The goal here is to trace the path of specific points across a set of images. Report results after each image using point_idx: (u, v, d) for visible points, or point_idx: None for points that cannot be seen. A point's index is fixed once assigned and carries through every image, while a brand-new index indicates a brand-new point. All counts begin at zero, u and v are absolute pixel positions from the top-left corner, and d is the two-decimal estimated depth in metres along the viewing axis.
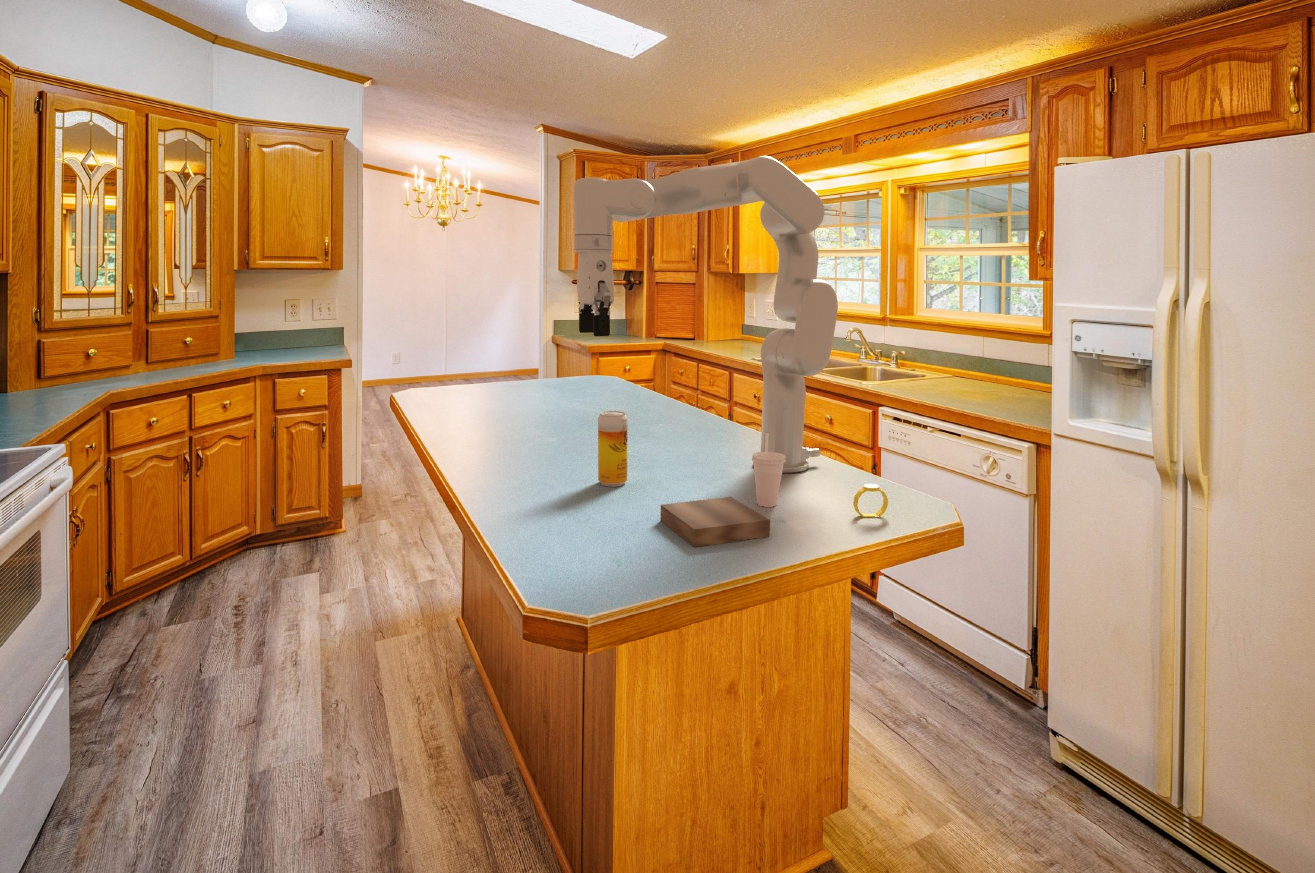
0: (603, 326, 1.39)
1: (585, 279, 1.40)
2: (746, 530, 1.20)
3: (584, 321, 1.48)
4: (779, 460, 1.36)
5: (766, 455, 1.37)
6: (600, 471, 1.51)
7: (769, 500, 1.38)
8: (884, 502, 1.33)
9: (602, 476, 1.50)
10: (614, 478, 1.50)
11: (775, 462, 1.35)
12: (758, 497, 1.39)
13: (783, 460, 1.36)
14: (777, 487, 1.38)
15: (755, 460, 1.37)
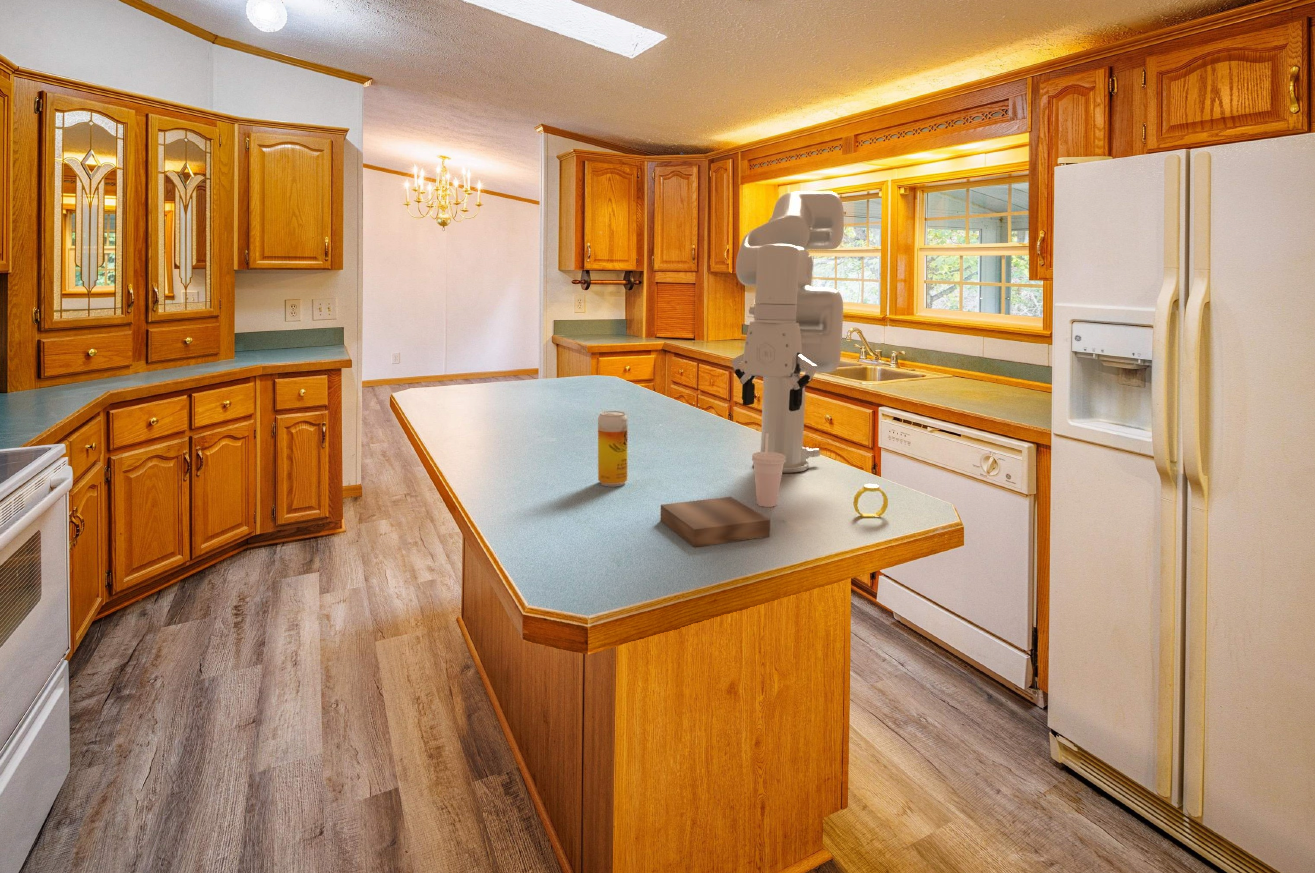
0: None
1: None
2: (746, 530, 1.20)
3: None
4: (779, 460, 1.36)
5: (766, 455, 1.37)
6: (600, 471, 1.51)
7: (769, 500, 1.38)
8: (884, 502, 1.33)
9: (602, 476, 1.50)
10: (614, 478, 1.50)
11: (775, 462, 1.35)
12: (758, 497, 1.39)
13: (783, 460, 1.36)
14: (777, 487, 1.38)
15: (755, 460, 1.37)
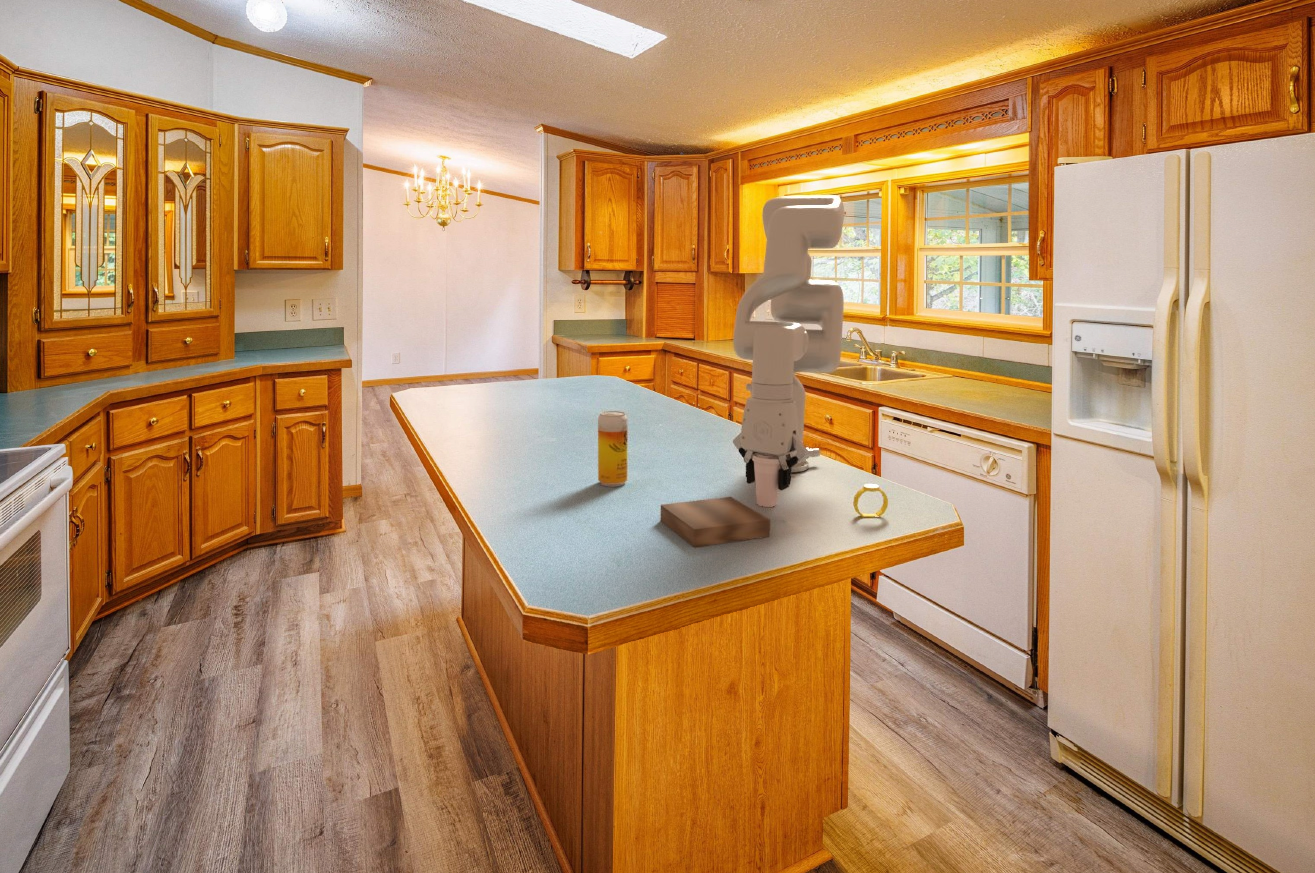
0: None
1: None
2: (746, 530, 1.20)
3: None
4: (779, 460, 1.35)
5: (766, 455, 1.37)
6: (600, 471, 1.51)
7: (769, 500, 1.38)
8: (884, 502, 1.33)
9: (602, 476, 1.50)
10: (614, 478, 1.50)
11: (775, 462, 1.35)
12: (758, 497, 1.39)
13: None
14: (777, 487, 1.38)
15: (755, 460, 1.37)
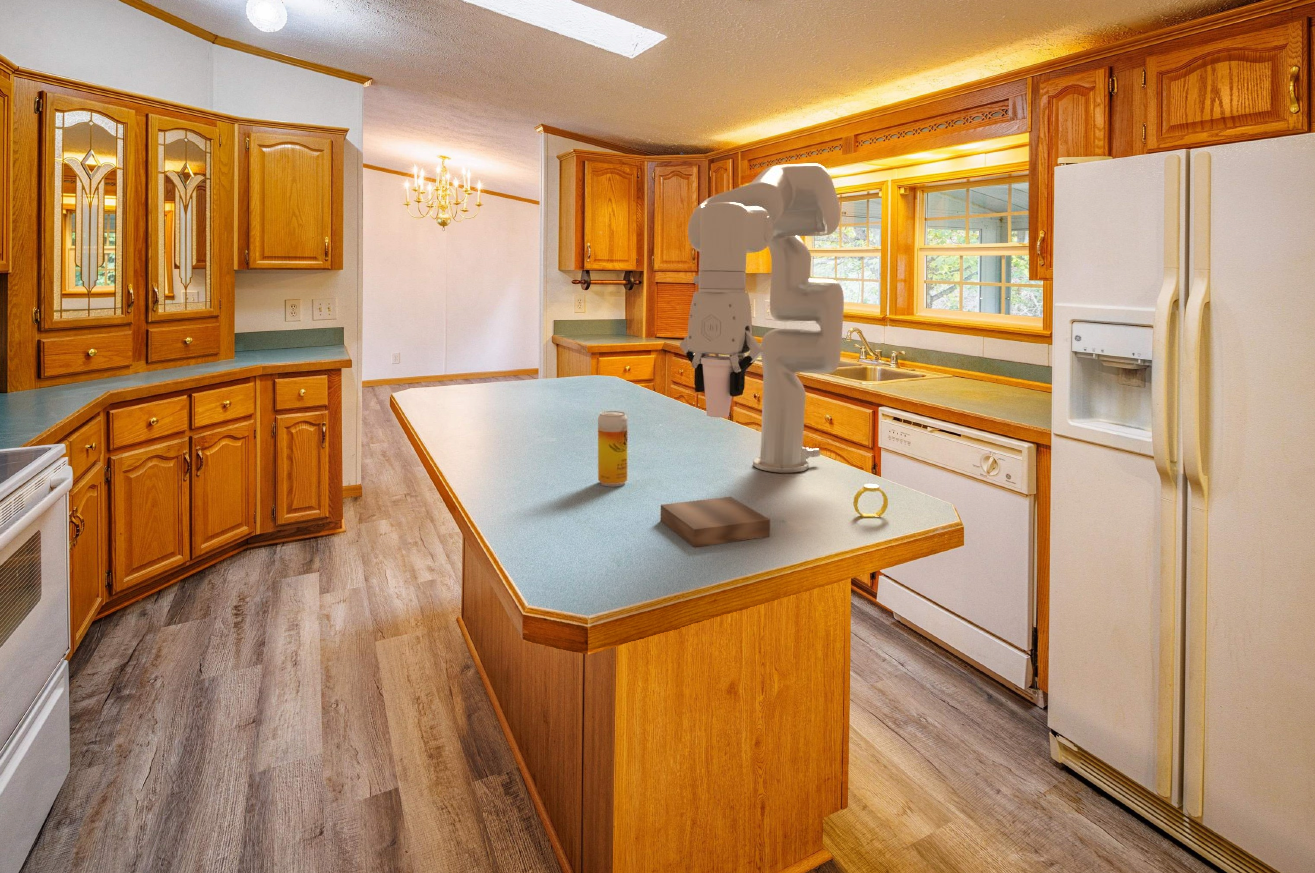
0: None
1: None
2: (746, 530, 1.20)
3: None
4: None
5: (717, 357, 1.19)
6: (600, 471, 1.51)
7: (720, 410, 1.20)
8: (884, 502, 1.33)
9: (602, 476, 1.50)
10: (614, 478, 1.50)
11: (726, 363, 1.17)
12: (708, 406, 1.21)
13: None
14: (729, 394, 1.20)
15: (704, 362, 1.19)
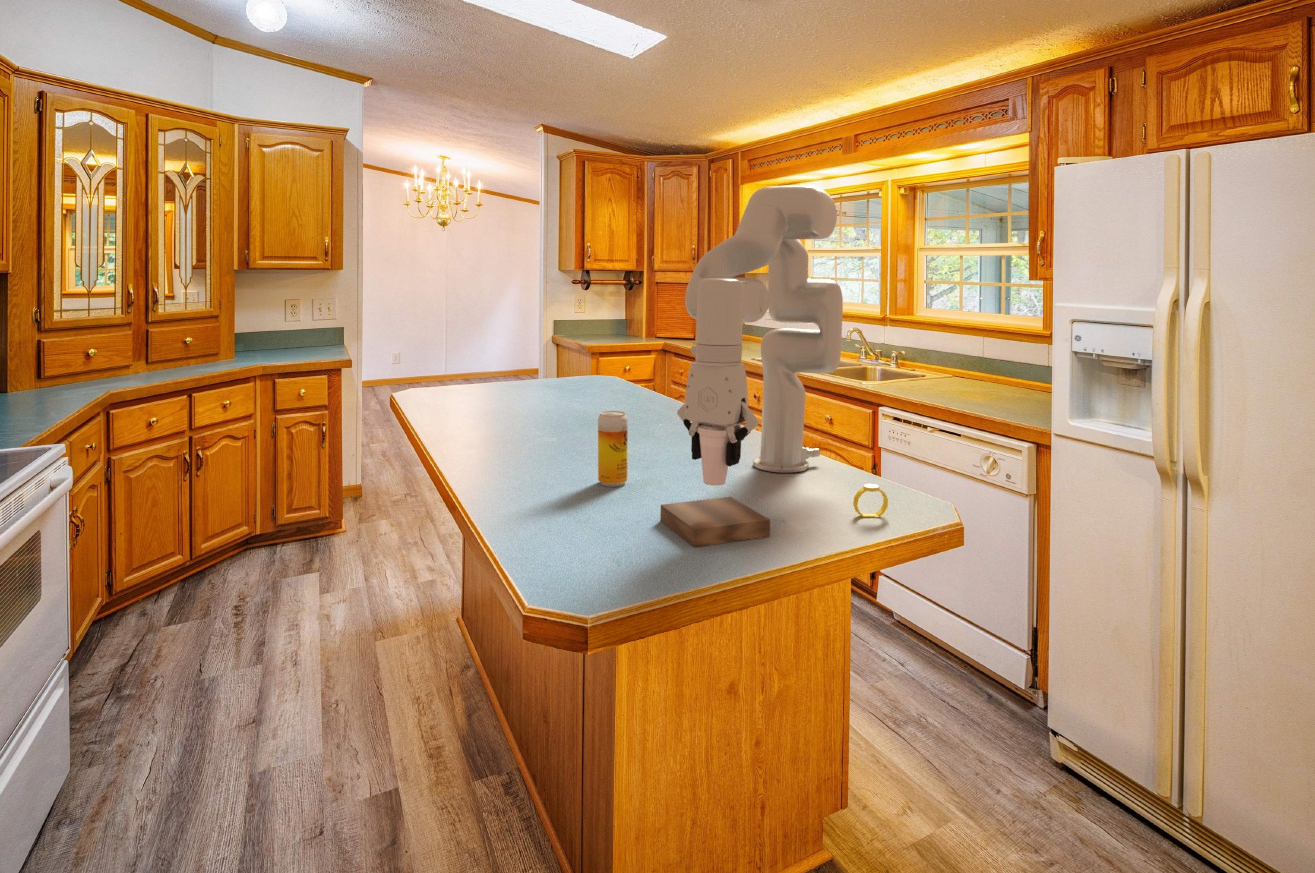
0: None
1: None
2: (746, 530, 1.20)
3: None
4: None
5: (713, 426, 1.21)
6: (600, 471, 1.51)
7: (716, 478, 1.22)
8: (884, 502, 1.33)
9: (602, 476, 1.50)
10: (614, 478, 1.50)
11: (722, 434, 1.19)
12: (704, 474, 1.23)
13: None
14: (725, 463, 1.22)
15: (700, 432, 1.21)
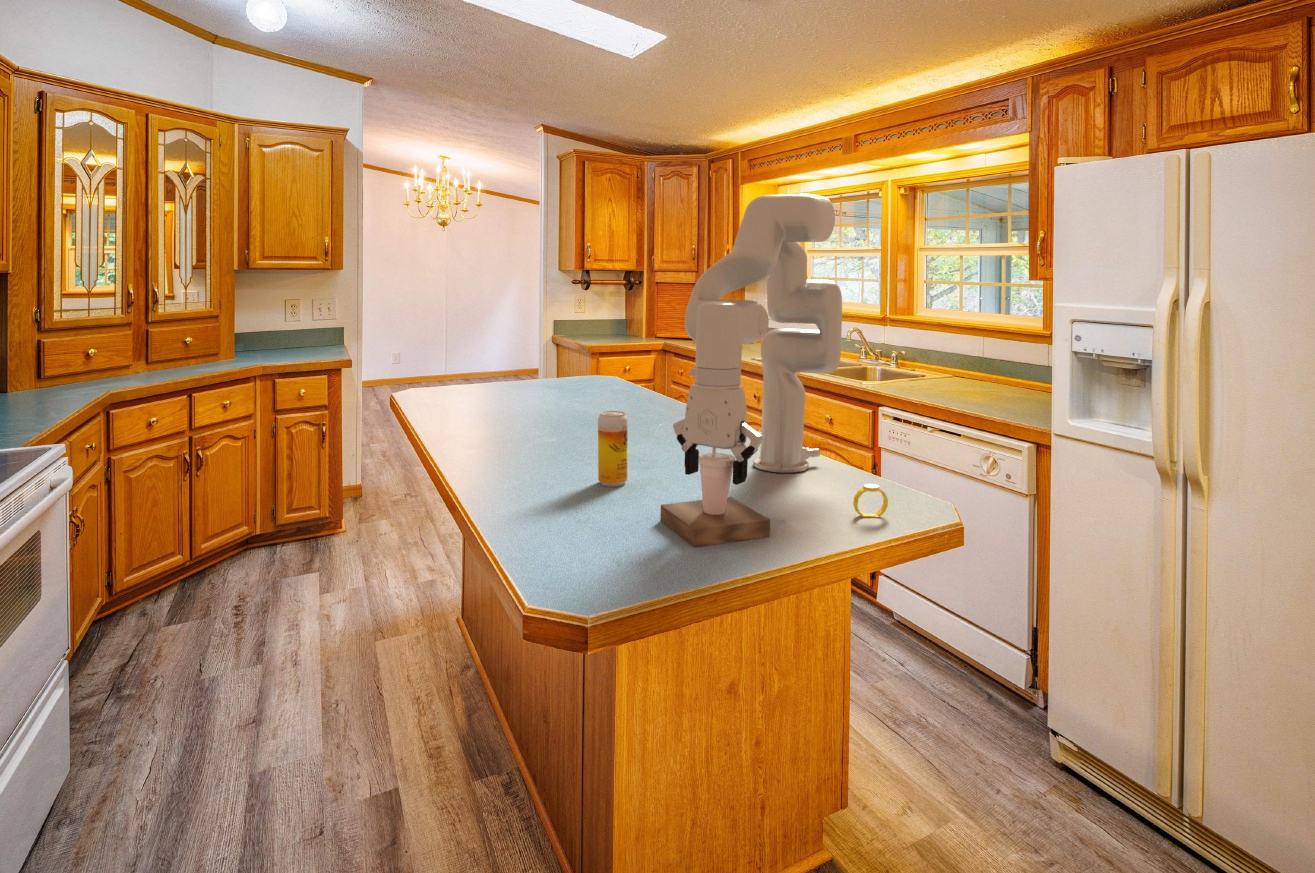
0: None
1: None
2: (746, 530, 1.20)
3: None
4: (727, 462, 1.21)
5: (713, 456, 1.23)
6: (600, 471, 1.51)
7: (716, 507, 1.23)
8: (884, 502, 1.33)
9: (602, 476, 1.50)
10: (614, 478, 1.50)
11: (723, 464, 1.21)
12: (704, 503, 1.24)
13: (732, 462, 1.22)
14: (725, 493, 1.23)
15: (701, 462, 1.22)
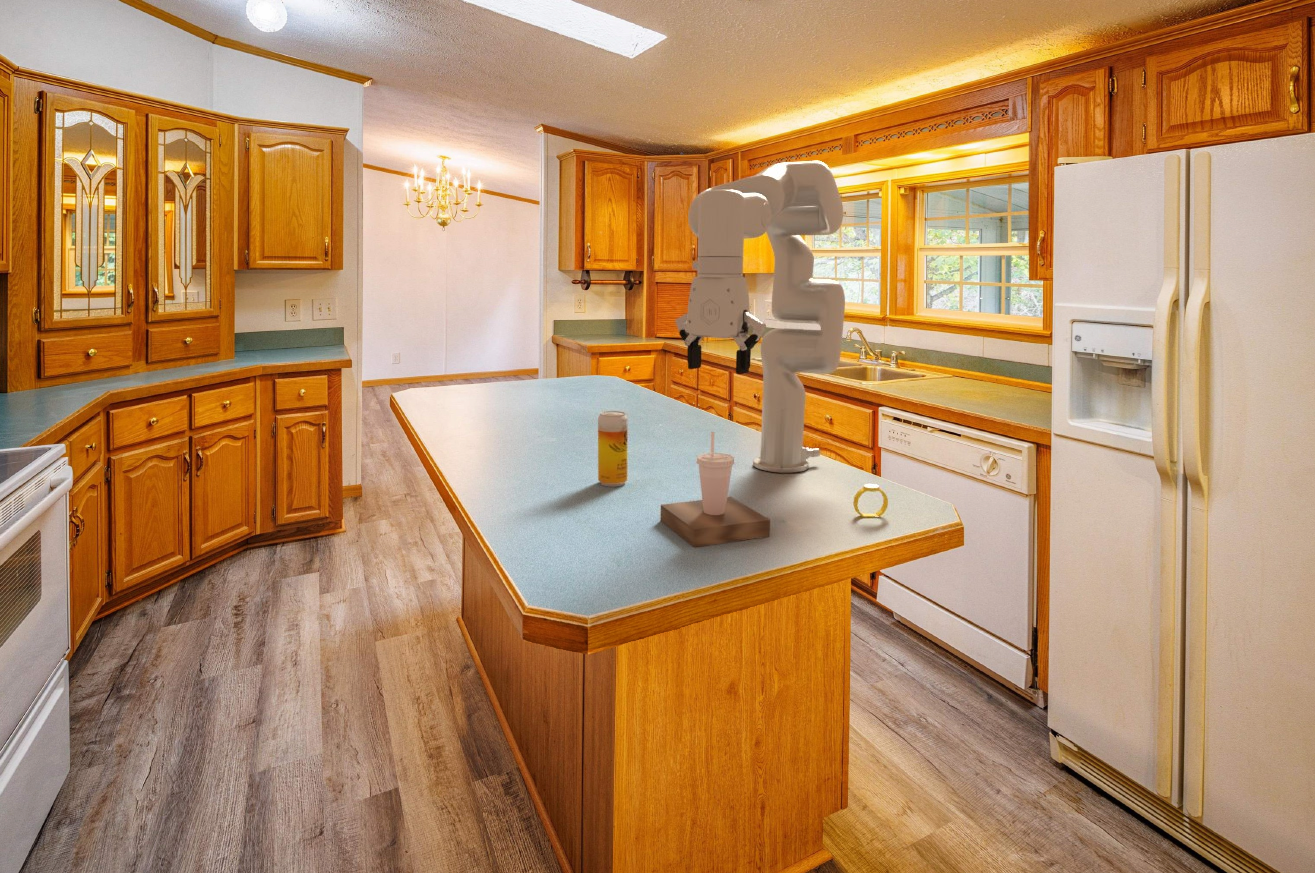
0: None
1: None
2: (746, 530, 1.20)
3: None
4: (726, 463, 1.21)
5: (712, 457, 1.22)
6: (600, 471, 1.51)
7: (716, 508, 1.23)
8: (884, 502, 1.33)
9: (602, 476, 1.50)
10: (614, 478, 1.50)
11: (721, 465, 1.21)
12: (704, 504, 1.24)
13: (731, 462, 1.22)
14: (725, 493, 1.23)
15: (699, 463, 1.22)
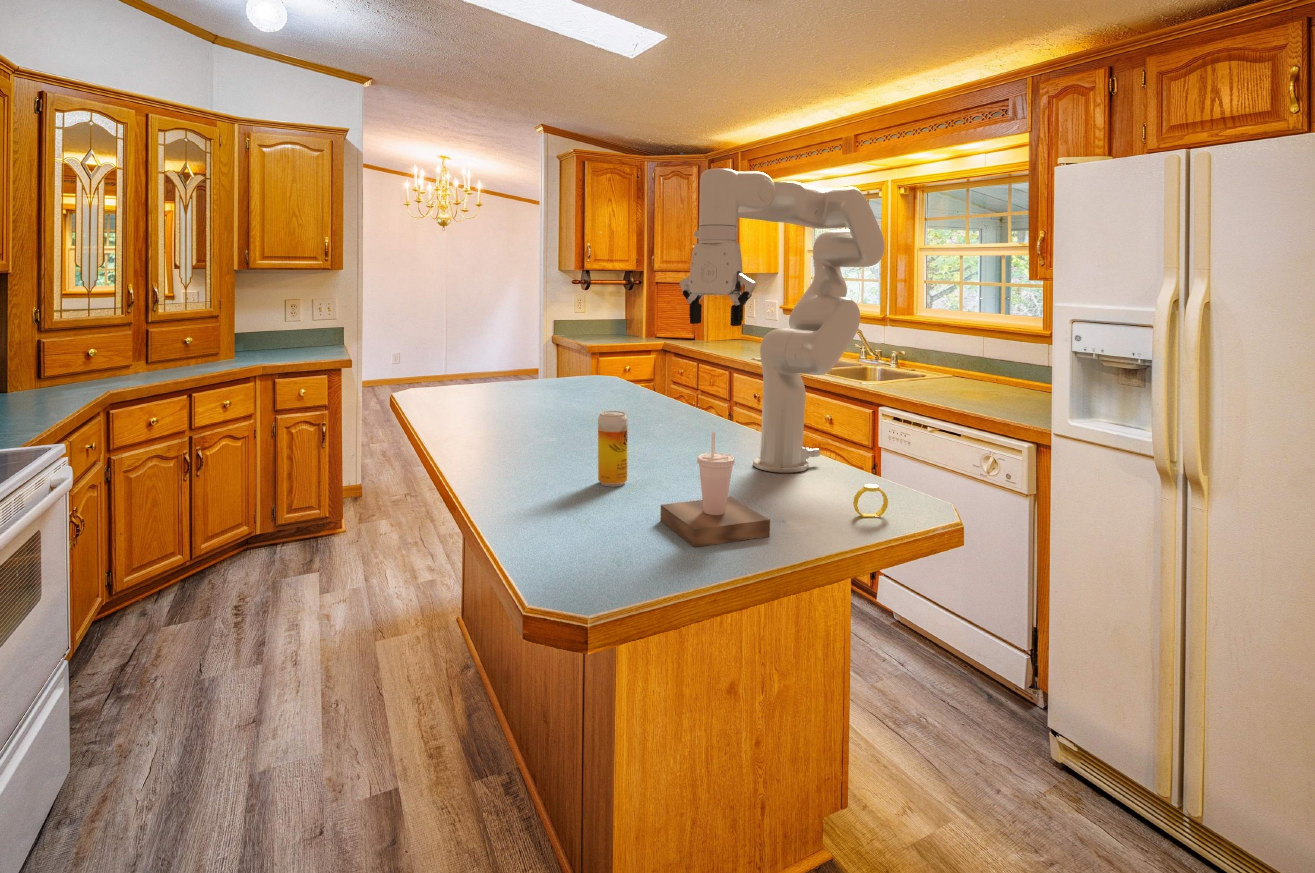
0: None
1: None
2: (746, 530, 1.20)
3: None
4: (726, 463, 1.21)
5: (713, 457, 1.22)
6: (600, 471, 1.51)
7: (716, 508, 1.23)
8: (884, 502, 1.33)
9: (602, 476, 1.50)
10: (614, 478, 1.50)
11: (722, 465, 1.21)
12: (704, 504, 1.24)
13: (731, 463, 1.22)
14: (725, 493, 1.23)
15: (700, 463, 1.22)
